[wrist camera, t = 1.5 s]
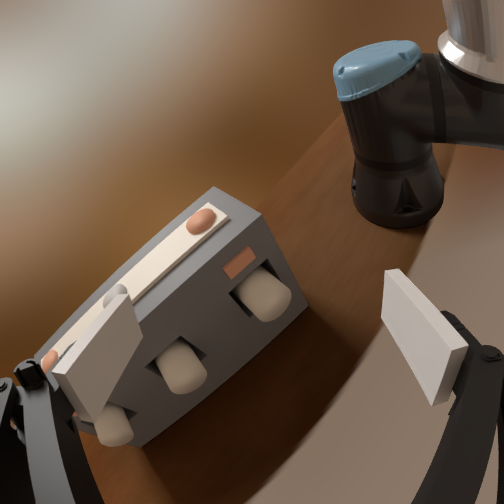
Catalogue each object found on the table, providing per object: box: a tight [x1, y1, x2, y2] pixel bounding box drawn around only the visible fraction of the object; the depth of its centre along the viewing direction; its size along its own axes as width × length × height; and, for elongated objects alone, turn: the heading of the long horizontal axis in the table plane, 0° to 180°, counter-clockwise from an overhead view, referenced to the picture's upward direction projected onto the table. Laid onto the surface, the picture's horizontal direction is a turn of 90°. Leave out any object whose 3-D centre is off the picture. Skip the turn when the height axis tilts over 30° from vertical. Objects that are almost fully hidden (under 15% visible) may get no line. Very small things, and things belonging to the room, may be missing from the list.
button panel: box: [34, 187, 309, 447], centre depth 31 cm, size 30×9×17 cm, turn 126°
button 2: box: [231, 265, 291, 322], centre depth 29 cm, size 4×6×4 cm
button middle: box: [154, 336, 207, 394], centre depth 28 cm, size 4×6×4 cm
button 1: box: [94, 401, 134, 447], centre depth 26 cm, size 4×6×4 cm
